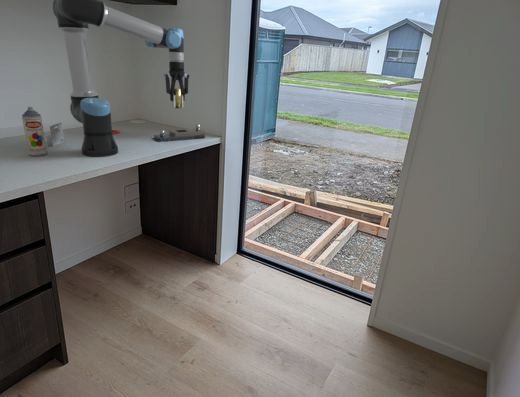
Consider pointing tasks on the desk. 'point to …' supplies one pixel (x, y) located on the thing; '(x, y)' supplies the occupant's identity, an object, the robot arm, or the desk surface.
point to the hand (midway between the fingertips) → (177, 107)
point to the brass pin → (177, 98)
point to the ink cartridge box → (55, 135)
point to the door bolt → (181, 134)
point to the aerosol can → (34, 133)
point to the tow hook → (115, 131)
